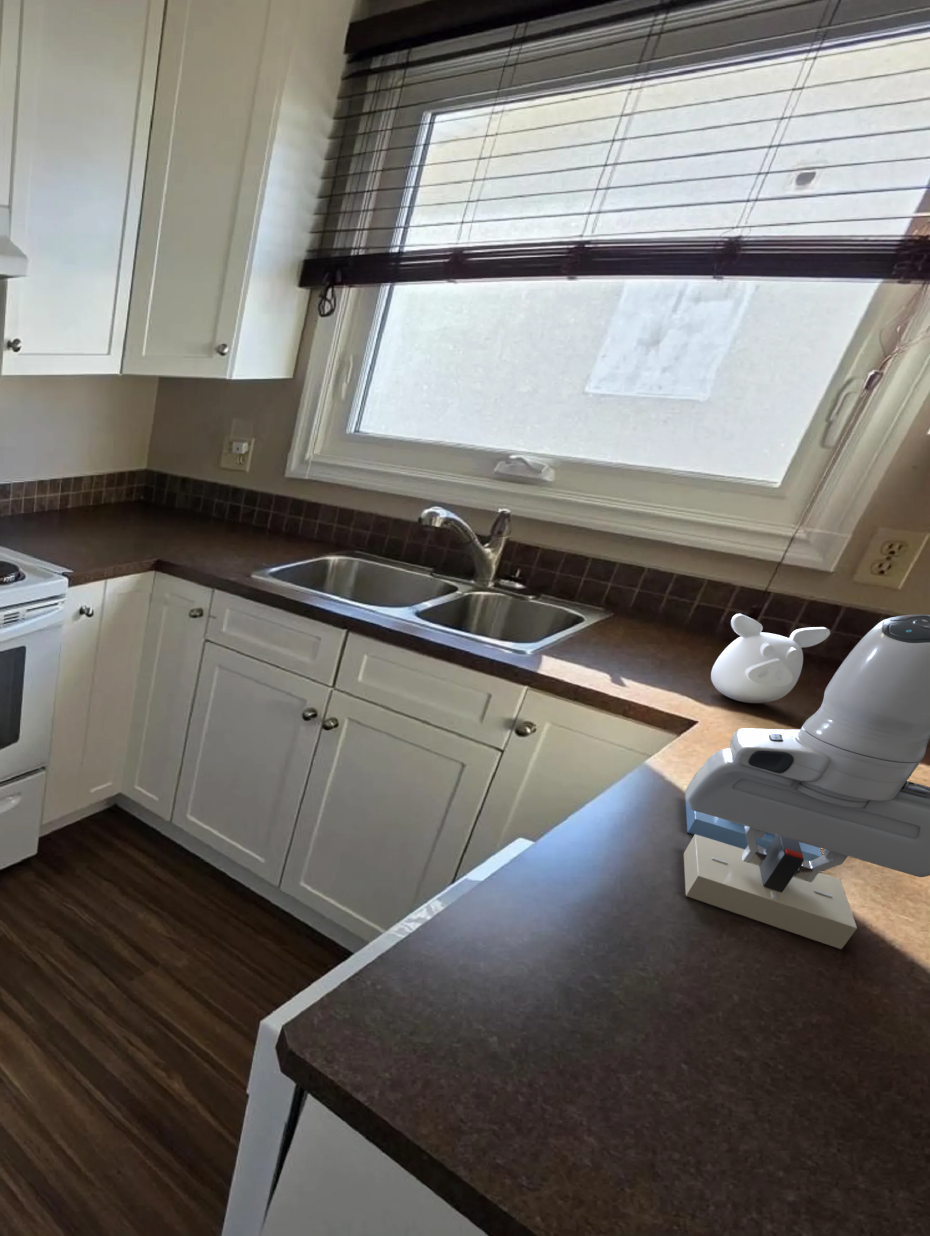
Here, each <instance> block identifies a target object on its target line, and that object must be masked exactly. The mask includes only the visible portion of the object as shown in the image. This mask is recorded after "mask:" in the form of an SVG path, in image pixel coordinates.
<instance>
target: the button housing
mask: <svg viewBox="0 0 930 1236" xmlns="http://www.w3.org/2000/svg"><path fill="white" fill-rule="evenodd" d="M685 815H686V832H687V834H690V835H693V836H694V835H695V834H696V835H699V836H703V837H706V838H709V839H712V840H716V841H719V842H722V843H725V844H728V845H732V846H735V847H738V848H741V849H746V848H747V846H748V842H747V838H746V833H745V828H744V827H745V826H744V825H741V824H738V823H734V822H731V821H728V820H724V819H721V818H718V817H714V816H711V815H707V814H704V813H701V812H697V811H694V810H692V809H690V808H689V806H688V804H687V802H686V801H685ZM775 836H776V835H775V834H771V833H768V832H766V834H765V835H764V837H763V838H762V839H760V838H756V836H755V839H756V844H757V846H760V847H764V848H766V850H767V848H768V847H769V845H770V844H771V842H772V841H773V839H774V837H775ZM799 844H800V848H801V851H802V855H803V858H804V860H806V861H811V860H813V859H816V858H818V857H820V856H822V855H823V854H822V851H821V848H819V847H815V846H812V845H808V844H805V843H802V842H799Z"/></svg>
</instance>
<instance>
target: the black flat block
mask: <svg viewBox="0 0 930 1236" xmlns="http://www.w3.org/2000/svg"><path fill="white" fill-rule="evenodd" d="M766 852H767V857H766V858H765V860H762V864H761V865H760V866H759V867H760V872H761V877H762V882H763V886H764V887H767V888H770V889H773V890H776V891H779V892H783V891H784V889H785V888H786V886H787V885H788V883H789V882H790V880H791V879H792V877H793V876H794V874H795V873H796V872H797V870H798V869H799V867H800V866H801V864H802V863H803V861H804V858H803V855H802V851H801V848H800V844H799V842H798V841H795V840H792V839H788V838H785V837H782V836H778V835H776V836H775V837H774V839H773V841H772V842H771V844H770V845H769V847H768V848H767V850H766Z"/></svg>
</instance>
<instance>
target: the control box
mask: <svg viewBox="0 0 930 1236" xmlns="http://www.w3.org/2000/svg"><path fill="white" fill-rule="evenodd" d="M744 851H745V849H741V848H738V847H735V846H732V845H728V844H725V843H722V842H719V841H716V840H712V839H709V838H706V837H703V836H699V835H696V834H695V835H694V834H693V837H692V838H691V840H690V842H689V844H688V845H687V847H686V849H685V850H684V852H683V863H684V864H683V868H684V888H685V897H688V898H690V899H693V900H696V901H698V902H701V903H705V904H707V905H710V906H713V907H716V908H720V909H722V910H725V911H729V912H731V913H734V914H736V915H740V916H743V917H746V918H748V919H752V920H754V921H758V922H761V923H763V924H766V925H769V926H772V927H775V928H778V929H781V930H784V931H786V932H790V933H792V934H795V935H798V936H801V937H804V938H807V939H809V940H812V941H815V942H818V943H822V944H825V945H828V946H831V947H833V948H835V949H839V950H842V949H843V948H844V947H845V945H846V944H847V943H848V941H849V940H850V939H851V937H852V936H853V935H854V933H855V932H856V931H857V929H858V927H857V923H856V921H855V917H854V914H853V912H852V909H851V905H850V903H849V900H848V897H847V893H846V891H845V889H844V885H843V882H842V879H841V878H838V877H836V876H832V875H829V874H825V873H822V872H819V873H818V874H817V876H816V877H815V879H814V880H813V881H812V882H808V881H805V880H801V879H798V878H795V877H792V879H791V880H790V882H789V883H788V885H787V886H786V888H785V889H784V891H783V892H779V891H776V890H773V889H770V888H767V887H764V886H763V882H762V877H761V872H760V867H759V866H757V865H754V864H751V863H747V862H744V861H742V855H743V852H744Z"/></svg>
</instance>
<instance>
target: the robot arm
mask: <svg viewBox="0 0 930 1236" xmlns="http://www.w3.org/2000/svg"><path fill="white" fill-rule="evenodd" d="M823 693H824V694H823V699H822V703H821V705H820V706H819V708H818V709H817V711H816V712H815V713H813V714H812V715H811V716H809V717H808V719H806V720H805V722H804V723H803V724H802V726H801V727H800V729H799V728H796V729H793V728H791V729H789V728H787V729H786V728H785V729H783V728H782V729H781V728H751V727H750V728H747V727H745V728H738V729H736V730H735V731H734V733H733V734H732V736H731V739H730V741H729V747H727V748H726V747H725V748H723V749H720V750H717V751H716V752H715V753H713V754H712V755H710V757H708V759H707V760H706V761H705V762H704V763H703V764H702V766H701V767H700V768H699V769H698V771H697V772H696V773H695V774H694V776H693V777H692V779H691V780H690V782H689V783H688V785H687V787H686V789H685V791H684V800H685V803H686V802H687V804H688V806H689V808H690V809H692V810H694V811H697V812H701V813H704V814H707V815H711V816H714V817H718V818H721V819H724V820H728V821H731V822H734V823H738V824H741V825H744V826H745V827H744V828H745V833H746V838H747V842H748V846H747V848H746V849H745V851H744V852H743V855H742V861H744V862H747V863H751V864H754V865H757V866H760V865H761V864H762V860H765V858H766V857H767V852H766V848H764V847H760V846H757V844H756V839H755V836H756V838H760V839H762V838H763V837H764V835H765V834H766V832H768V833H771V834H775V835H778V836H782V837H785V838H788V839H792V840H795V841H798V842H802V843H805V844H808V845H812V846H815V847H819V848H820V849H821V850H822V851H823V853H824V854H822V856H820V857H818V858H816V859H813V860H811V861H806V860H804V861H803V863H802V864H801V866H800V867H799V869H798V870H797V872H796V873H795V874H794V876H793V877H795V878H798V879H801V880H805V881H808V882H812V881H813V880H814V879H815V877H816V876H817V874H818V873H822V872H824V871H827V870H830V869H832V868H835V867H837V866H841V865H842V864H844V862H845V861H846V860H847V858H848V857H850V858H853V859H856V860H859V861H862V862H866V863H869V864H873V865H877V866H879V867H883V868H886V869H890V870H893V871H897V872H900V873H903V874H907V875H910V876H913V877H916V878H925V877H930V786H928V785H925V784H921V783H917V782H914V781H909V779H910V777H911V776H912V774H913V773H914V772H915V770H916V769H917V767H918V766H919V765H920V763H921V762H922V760H923V759H924V758H925V756H926V752H927V746H928V743H929V741H930V615H929V614H903V615H898V616H893V617H888V618H885V619H883V620H881V621H880V622H878V623H877V624H876V625H875V626H873V628H871V629H870V630H869V631H868V632H867V633H866V634H865V635H864V636H863V637H862V638H861V639H860V640H859V642H857V644H856V645H855V646H854V647H853V649H851V651H850V652H849V653H848V655H847V656H846V657H845V659H844V660H843V661H842V663H841V664H840V666H839V667H838V668H837V670H836V671H835V673H834V674H833V676H832V678H831V679H830V681H829V683H828V684H827V686H826V687H825V690H824V692H823Z"/></svg>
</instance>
